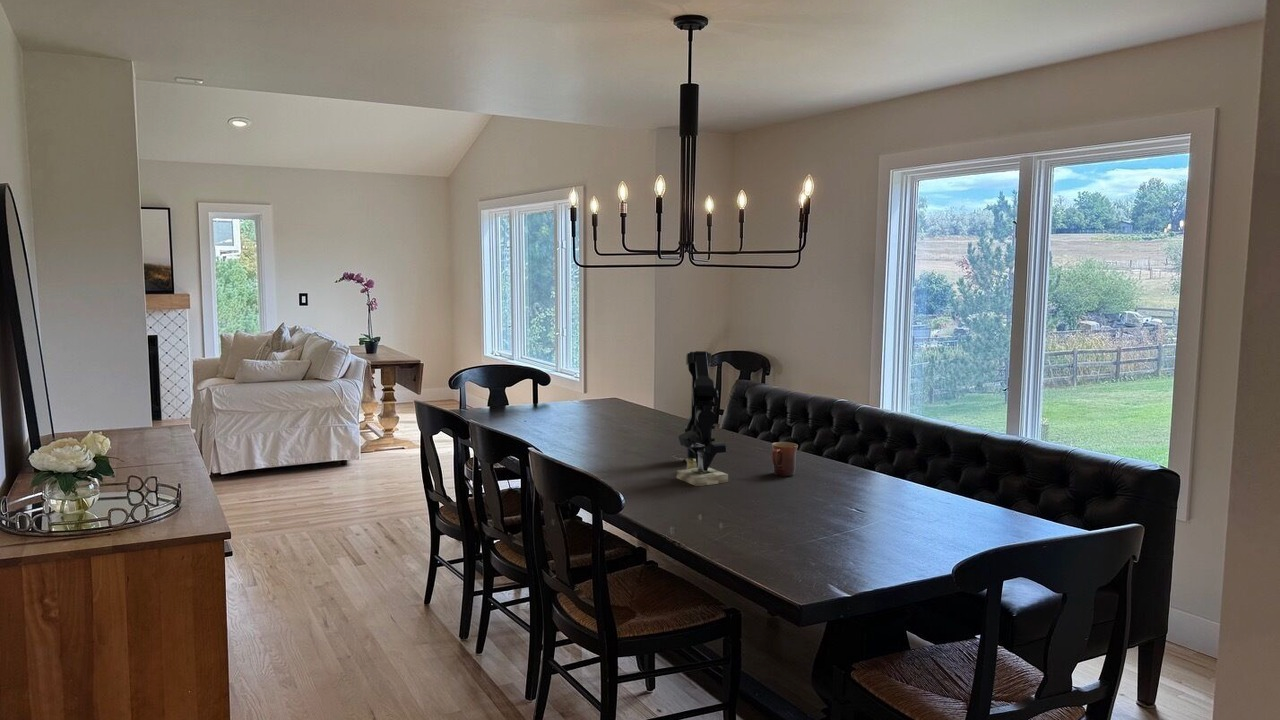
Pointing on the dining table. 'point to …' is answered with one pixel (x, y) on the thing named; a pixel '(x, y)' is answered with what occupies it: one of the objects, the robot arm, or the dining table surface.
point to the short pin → (691, 463)
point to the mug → (784, 458)
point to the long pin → (700, 463)
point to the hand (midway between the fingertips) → (702, 469)
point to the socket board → (702, 477)
